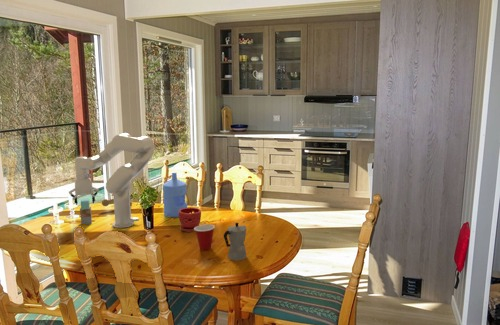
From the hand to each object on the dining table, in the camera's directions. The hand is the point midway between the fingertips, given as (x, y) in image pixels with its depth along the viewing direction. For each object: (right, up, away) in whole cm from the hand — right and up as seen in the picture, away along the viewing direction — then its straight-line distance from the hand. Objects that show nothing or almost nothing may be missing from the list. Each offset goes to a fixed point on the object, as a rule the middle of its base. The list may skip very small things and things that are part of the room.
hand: (85, 203), depth 257 cm
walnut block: (0, -8, +1) cm, 8 cm away
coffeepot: (+96, -22, -52) cm, 111 cm away
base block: (0, -13, +2) cm, 13 cm away
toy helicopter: (+10, -7, +34) cm, 36 cm away
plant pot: (+67, -15, -10) cm, 70 cm away
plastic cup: (+79, -20, -39) cm, 91 cm away
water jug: (+53, -9, +19) cm, 57 cm away
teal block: (0, -3, +1) cm, 3 cm away
